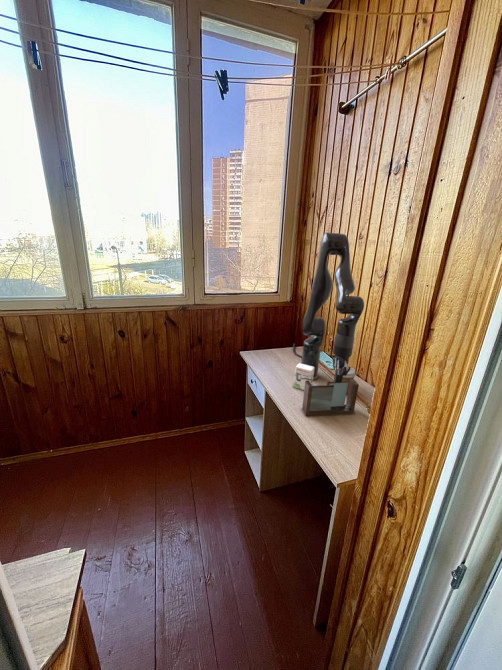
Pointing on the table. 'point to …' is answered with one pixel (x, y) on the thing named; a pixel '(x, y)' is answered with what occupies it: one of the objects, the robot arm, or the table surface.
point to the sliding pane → (338, 391)
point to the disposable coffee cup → (349, 377)
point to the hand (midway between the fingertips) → (337, 381)
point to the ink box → (303, 375)
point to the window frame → (327, 399)
